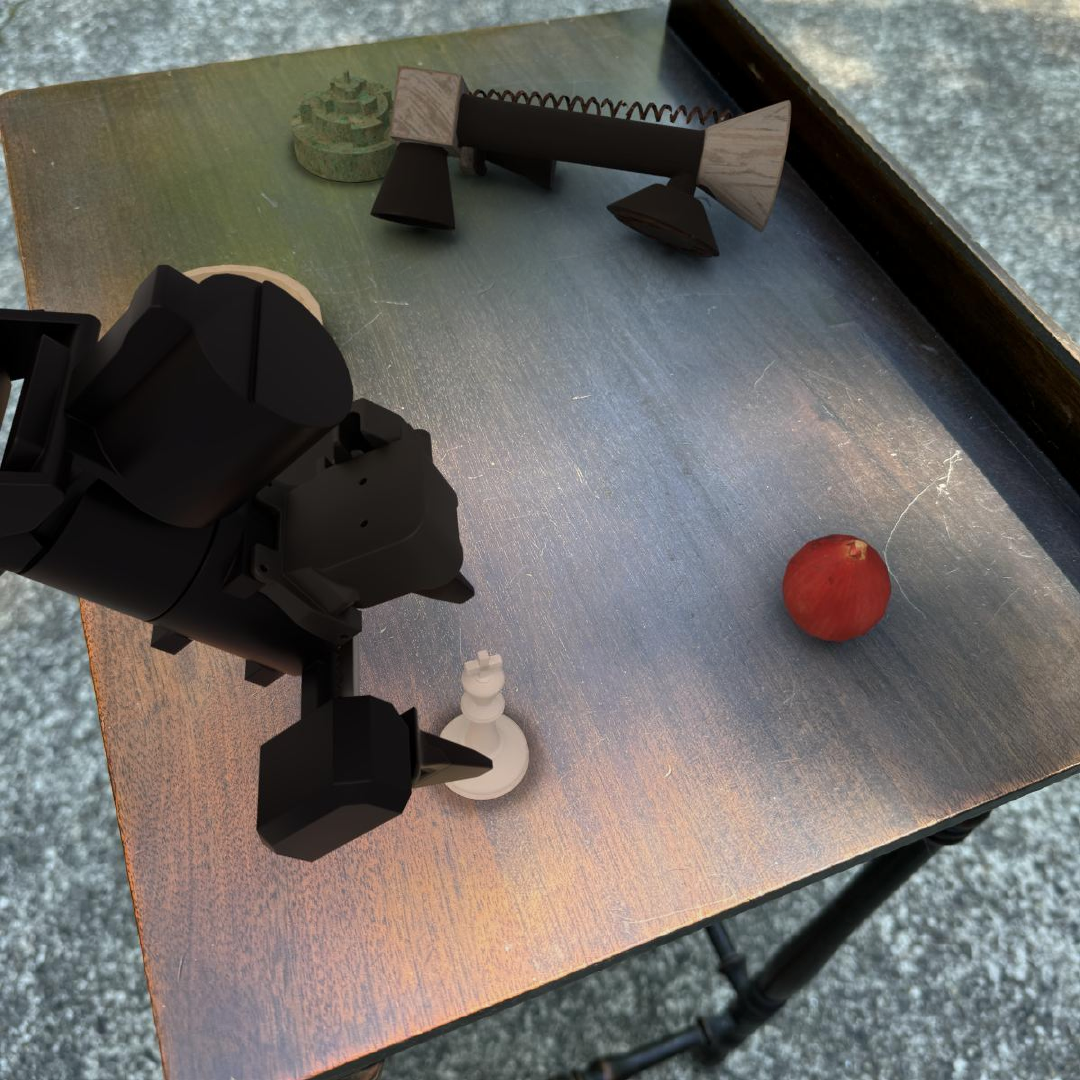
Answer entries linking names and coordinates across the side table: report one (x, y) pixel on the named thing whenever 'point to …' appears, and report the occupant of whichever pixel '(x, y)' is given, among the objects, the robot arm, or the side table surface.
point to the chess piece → (487, 731)
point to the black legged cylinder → (581, 155)
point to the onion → (836, 587)
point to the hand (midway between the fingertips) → (476, 677)
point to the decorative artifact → (345, 130)
